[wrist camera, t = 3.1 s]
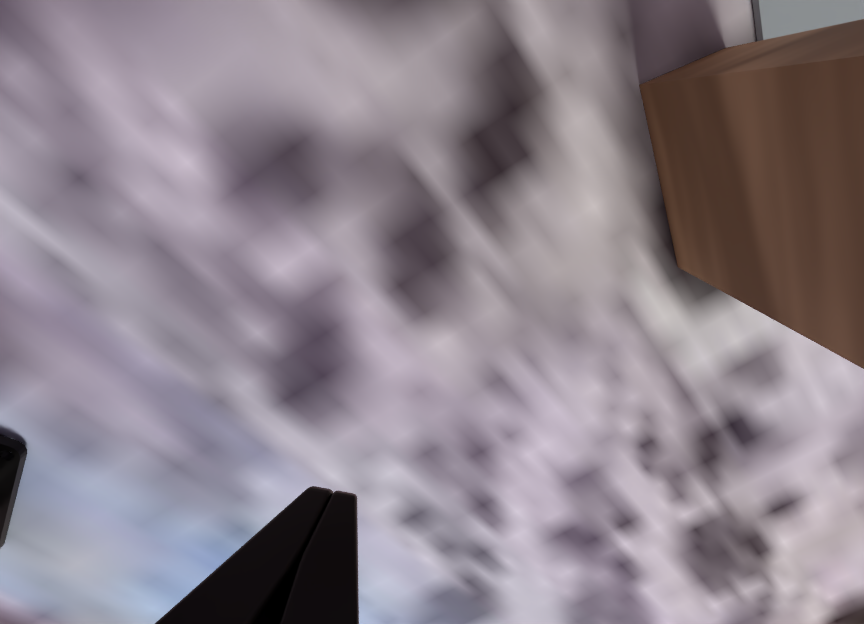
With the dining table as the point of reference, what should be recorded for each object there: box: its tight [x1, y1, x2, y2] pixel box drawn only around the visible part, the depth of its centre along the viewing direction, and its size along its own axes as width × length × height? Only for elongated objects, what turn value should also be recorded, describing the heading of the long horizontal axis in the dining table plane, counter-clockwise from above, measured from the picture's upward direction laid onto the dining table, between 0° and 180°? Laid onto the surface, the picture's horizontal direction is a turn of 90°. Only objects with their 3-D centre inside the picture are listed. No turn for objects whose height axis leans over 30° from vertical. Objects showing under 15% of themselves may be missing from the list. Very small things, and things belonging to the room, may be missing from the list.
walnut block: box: [639, 19, 864, 369], centre depth 13 cm, size 3×7×10 cm, turn 22°
